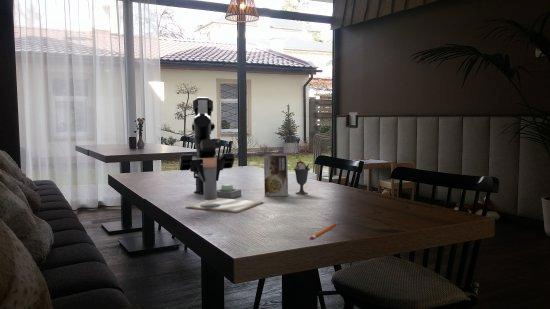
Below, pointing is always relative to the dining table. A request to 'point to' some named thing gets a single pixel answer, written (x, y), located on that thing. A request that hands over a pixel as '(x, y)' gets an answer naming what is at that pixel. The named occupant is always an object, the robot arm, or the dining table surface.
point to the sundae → (301, 175)
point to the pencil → (323, 231)
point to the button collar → (228, 194)
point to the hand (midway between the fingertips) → (210, 180)
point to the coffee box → (276, 175)
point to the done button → (227, 187)
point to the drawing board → (225, 205)
